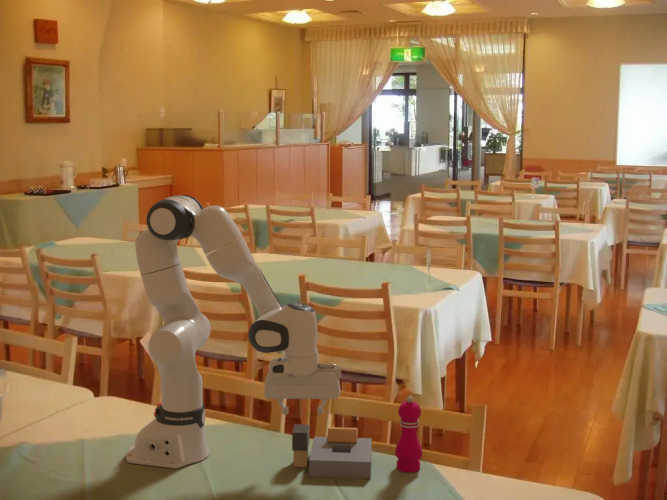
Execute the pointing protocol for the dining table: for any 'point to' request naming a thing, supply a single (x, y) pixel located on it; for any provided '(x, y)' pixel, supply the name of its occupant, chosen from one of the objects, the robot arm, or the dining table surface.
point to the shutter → (342, 434)
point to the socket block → (340, 458)
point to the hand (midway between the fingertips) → (302, 413)
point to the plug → (300, 445)
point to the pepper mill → (409, 437)
